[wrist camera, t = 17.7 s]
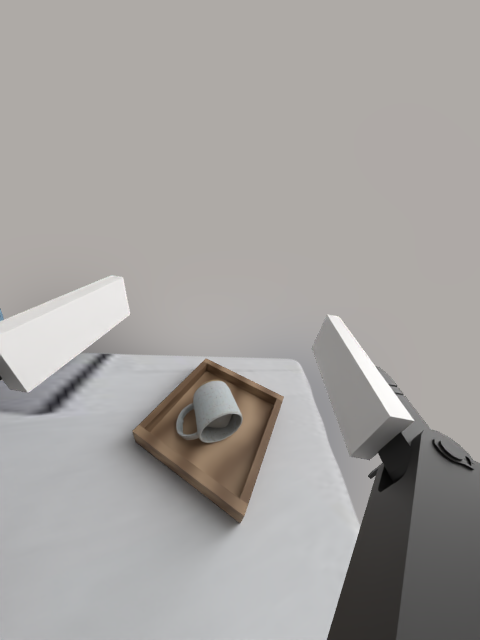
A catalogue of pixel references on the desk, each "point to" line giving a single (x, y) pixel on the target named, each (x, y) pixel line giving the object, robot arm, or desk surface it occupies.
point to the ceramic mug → (212, 413)
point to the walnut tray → (218, 457)
